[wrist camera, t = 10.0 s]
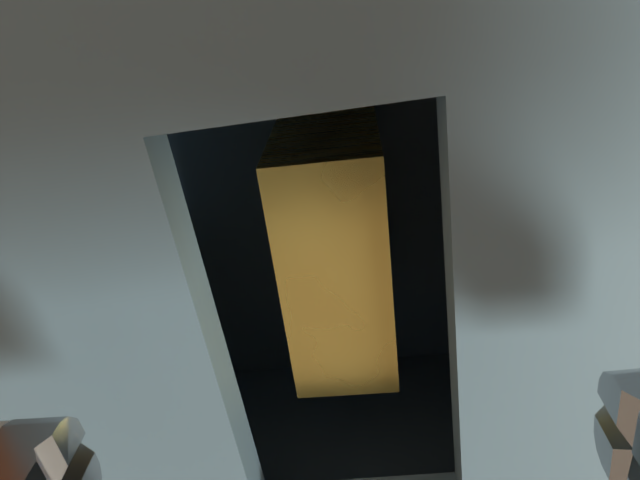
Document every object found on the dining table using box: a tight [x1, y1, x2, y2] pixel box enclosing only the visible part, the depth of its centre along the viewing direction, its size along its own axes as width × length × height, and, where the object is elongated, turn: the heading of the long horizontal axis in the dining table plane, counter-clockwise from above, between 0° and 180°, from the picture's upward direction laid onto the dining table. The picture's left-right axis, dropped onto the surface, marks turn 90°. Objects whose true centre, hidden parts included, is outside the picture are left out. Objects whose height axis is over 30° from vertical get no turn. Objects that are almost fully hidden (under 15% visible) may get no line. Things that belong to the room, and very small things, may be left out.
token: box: [256, 106, 400, 398], centre depth 15 cm, size 6×2×6 cm, turn 7°
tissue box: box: [0, 0, 640, 480], centre depth 14 cm, size 16×14×9 cm
